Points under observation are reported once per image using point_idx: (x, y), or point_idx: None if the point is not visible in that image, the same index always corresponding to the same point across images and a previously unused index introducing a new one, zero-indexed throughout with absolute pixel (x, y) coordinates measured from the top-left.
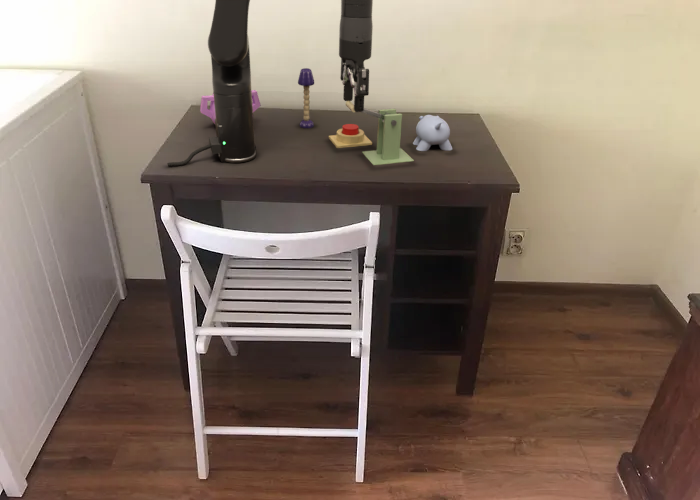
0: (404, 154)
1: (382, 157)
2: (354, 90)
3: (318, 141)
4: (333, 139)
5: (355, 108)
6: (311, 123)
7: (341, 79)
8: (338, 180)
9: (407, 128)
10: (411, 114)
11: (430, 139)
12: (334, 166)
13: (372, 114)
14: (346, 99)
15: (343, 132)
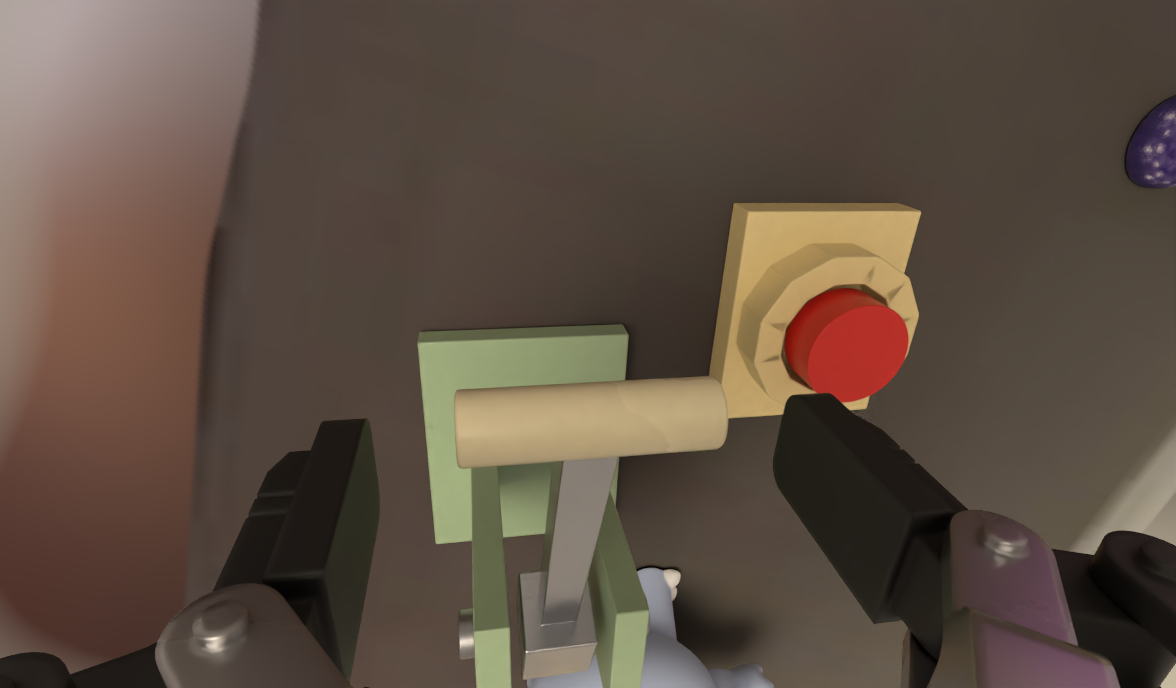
0: (523, 523)
1: None
2: (276, 670)
3: (925, 138)
4: (852, 221)
5: (318, 446)
6: (1157, 169)
7: (1124, 550)
8: (266, 58)
9: None
10: None
11: (539, 679)
12: (512, 111)
13: (544, 550)
14: (792, 422)
15: (841, 295)
